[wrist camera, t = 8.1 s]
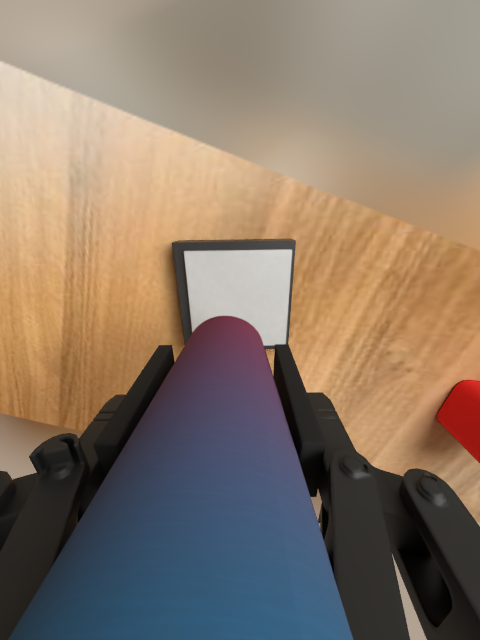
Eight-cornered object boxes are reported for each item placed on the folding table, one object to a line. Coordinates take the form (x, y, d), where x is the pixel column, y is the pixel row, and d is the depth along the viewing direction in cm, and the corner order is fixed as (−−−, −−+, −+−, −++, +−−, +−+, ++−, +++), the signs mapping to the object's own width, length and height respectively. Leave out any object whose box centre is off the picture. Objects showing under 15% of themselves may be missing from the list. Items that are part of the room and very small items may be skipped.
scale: (177, 240, 25) (169, 243, 22) (291, 238, 25) (297, 240, 22) (189, 340, 29) (183, 352, 27) (284, 339, 29) (288, 351, 27)
